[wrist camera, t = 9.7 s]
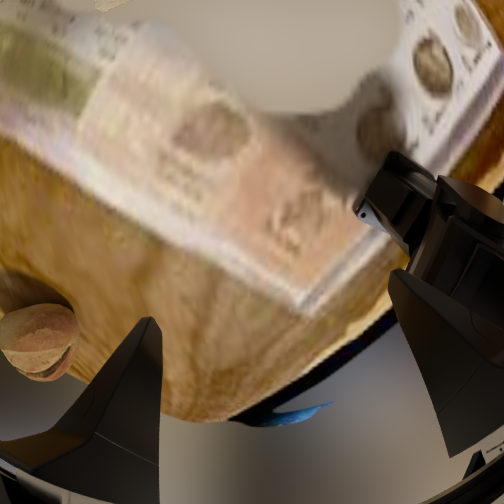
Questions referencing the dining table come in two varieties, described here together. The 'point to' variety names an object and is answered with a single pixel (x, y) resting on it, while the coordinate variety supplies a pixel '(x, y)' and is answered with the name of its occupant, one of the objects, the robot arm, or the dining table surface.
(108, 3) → the gear board
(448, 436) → the robot arm
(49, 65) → the dining table surface
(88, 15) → the dining table surface
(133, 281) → the dining table surface
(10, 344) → the bread roll
